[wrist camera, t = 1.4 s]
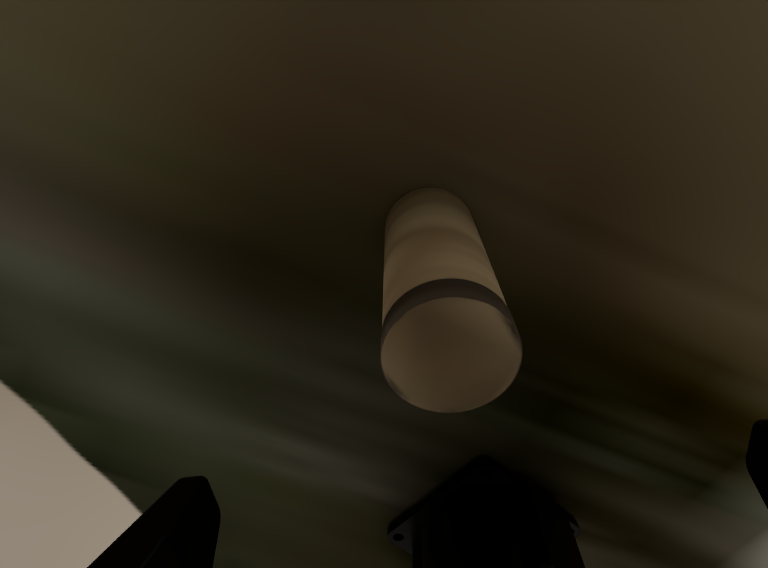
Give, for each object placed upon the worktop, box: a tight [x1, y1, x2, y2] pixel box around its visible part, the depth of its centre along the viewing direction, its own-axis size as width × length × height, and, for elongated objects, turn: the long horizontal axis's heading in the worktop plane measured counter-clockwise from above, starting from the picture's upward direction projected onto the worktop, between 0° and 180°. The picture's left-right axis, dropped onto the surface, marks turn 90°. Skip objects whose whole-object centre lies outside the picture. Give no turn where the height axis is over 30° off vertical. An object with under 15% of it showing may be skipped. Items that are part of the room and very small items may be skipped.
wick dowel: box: [380, 187, 523, 413], centre depth 15 cm, size 3×3×8 cm
